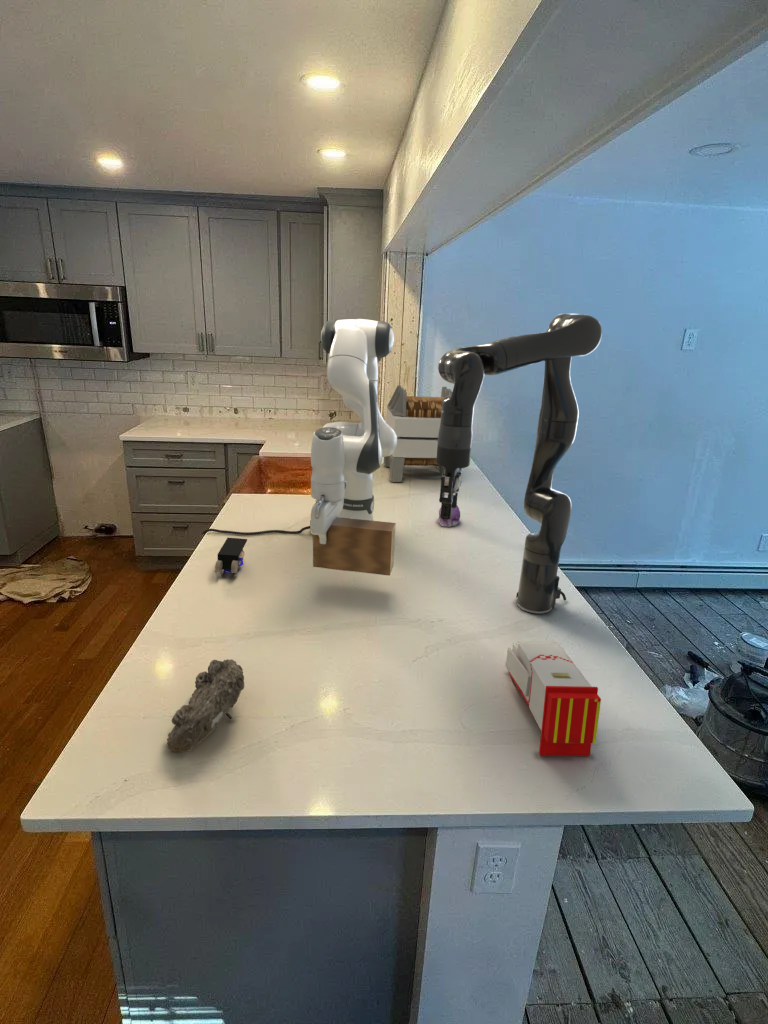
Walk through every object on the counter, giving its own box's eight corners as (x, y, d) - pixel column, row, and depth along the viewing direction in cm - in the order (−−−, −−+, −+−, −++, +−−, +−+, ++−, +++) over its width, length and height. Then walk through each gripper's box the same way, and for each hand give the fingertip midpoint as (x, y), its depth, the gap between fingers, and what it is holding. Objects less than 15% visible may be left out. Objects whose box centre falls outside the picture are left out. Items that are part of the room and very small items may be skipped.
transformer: (382, 463, 289) (386, 382, 275) (445, 464, 293) (451, 384, 279) (390, 482, 257) (394, 392, 243) (460, 483, 261) (468, 394, 247)
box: (312, 567, 156) (312, 523, 151) (319, 557, 161) (319, 515, 157) (390, 575, 152) (392, 531, 148) (393, 566, 158) (395, 522, 154)
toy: (554, 624, 127) (610, 694, 97) (548, 679, 130) (602, 763, 100) (500, 623, 126) (541, 693, 97) (496, 678, 129) (534, 763, 100)
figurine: (445, 529, 206) (449, 489, 200) (430, 519, 214) (433, 481, 209) (467, 525, 210) (470, 487, 205) (451, 516, 218) (454, 479, 213)
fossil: (192, 660, 117) (244, 628, 112) (224, 691, 120) (276, 661, 115) (142, 746, 98) (202, 712, 93) (182, 779, 101) (242, 748, 96)
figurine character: (238, 584, 162) (249, 557, 175) (236, 562, 158) (247, 536, 172) (215, 584, 161) (227, 556, 175) (212, 561, 158) (225, 535, 171)
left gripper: (328, 503, 140) (328, 554, 145) (348, 479, 159) (347, 525, 164) (303, 501, 141) (304, 551, 146) (326, 477, 160) (326, 523, 165)
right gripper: (466, 452, 118) (460, 525, 124) (475, 439, 131) (469, 505, 137) (431, 449, 120) (426, 520, 125) (443, 436, 133) (438, 501, 138)
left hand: (327, 537), depth 155 cm, fingers closed on box, 6 cm apart
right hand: (448, 512), depth 131 cm, fingers open, 8 cm apart
